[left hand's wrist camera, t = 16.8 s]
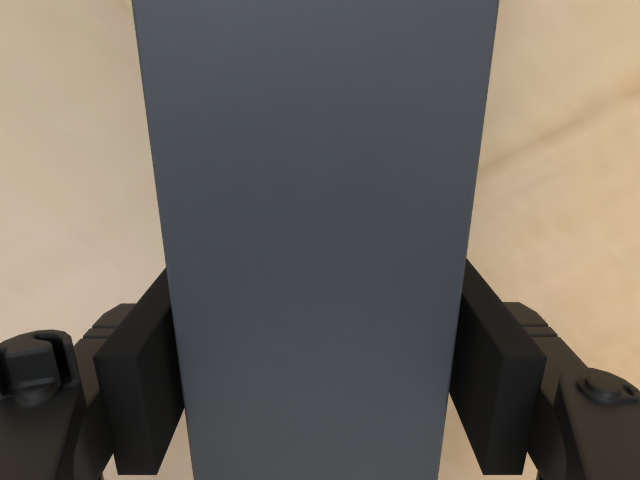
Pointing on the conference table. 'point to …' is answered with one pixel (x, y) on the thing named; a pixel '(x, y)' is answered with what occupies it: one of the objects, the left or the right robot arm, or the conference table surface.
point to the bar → (315, 223)
